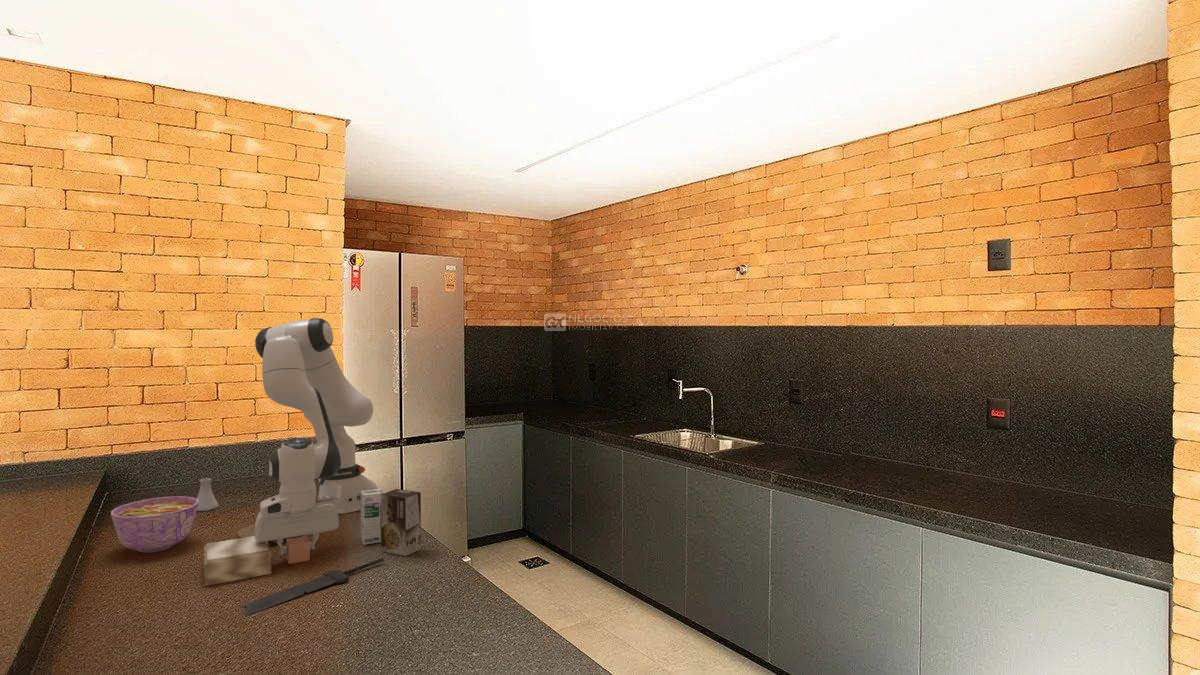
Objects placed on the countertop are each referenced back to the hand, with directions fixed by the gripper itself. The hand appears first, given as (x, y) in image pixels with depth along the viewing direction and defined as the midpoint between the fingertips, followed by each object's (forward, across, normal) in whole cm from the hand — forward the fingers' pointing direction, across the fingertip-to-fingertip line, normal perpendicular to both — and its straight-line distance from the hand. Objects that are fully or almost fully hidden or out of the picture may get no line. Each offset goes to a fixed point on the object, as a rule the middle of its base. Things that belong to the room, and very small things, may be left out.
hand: (297, 551), depth 165 cm
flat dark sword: (+2, -2, +21) cm, 21 cm away
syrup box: (+2, -20, -4) cm, 21 cm away
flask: (+2, +20, -65) cm, 68 cm away
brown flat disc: (+2, +5, -22) cm, 23 cm away
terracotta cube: (+2, 0, 0) cm, 2 cm away
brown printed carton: (+2, -25, +8) cm, 26 cm away
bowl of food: (+2, +32, -30) cm, 44 cm away
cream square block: (+2, +14, 0) cm, 14 cm away
